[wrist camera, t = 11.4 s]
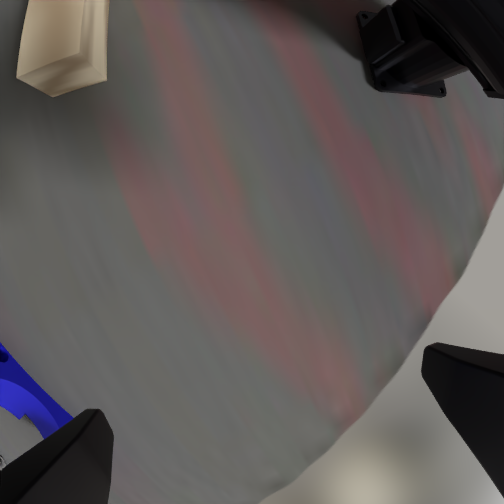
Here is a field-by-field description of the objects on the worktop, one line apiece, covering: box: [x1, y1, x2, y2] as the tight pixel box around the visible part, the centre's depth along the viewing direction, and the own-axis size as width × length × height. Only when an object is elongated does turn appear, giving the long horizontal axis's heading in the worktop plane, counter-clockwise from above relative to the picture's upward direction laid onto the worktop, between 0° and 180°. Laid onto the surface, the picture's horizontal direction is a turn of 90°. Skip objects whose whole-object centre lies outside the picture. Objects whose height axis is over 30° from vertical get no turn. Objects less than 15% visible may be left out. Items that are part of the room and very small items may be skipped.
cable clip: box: [0, 343, 73, 439], centre depth 16 cm, size 12×4×6 cm, turn 39°
